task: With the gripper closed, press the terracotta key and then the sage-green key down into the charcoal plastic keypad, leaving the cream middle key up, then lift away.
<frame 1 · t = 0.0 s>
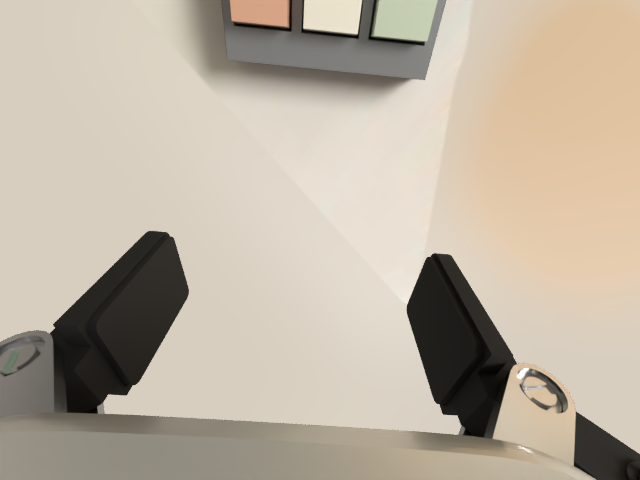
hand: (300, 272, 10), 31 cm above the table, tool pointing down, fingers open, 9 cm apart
keypad: (332, 3, 29), on the table
key sage: (403, 5, 26), point 4 cm above the table, slide at 0.0 cm
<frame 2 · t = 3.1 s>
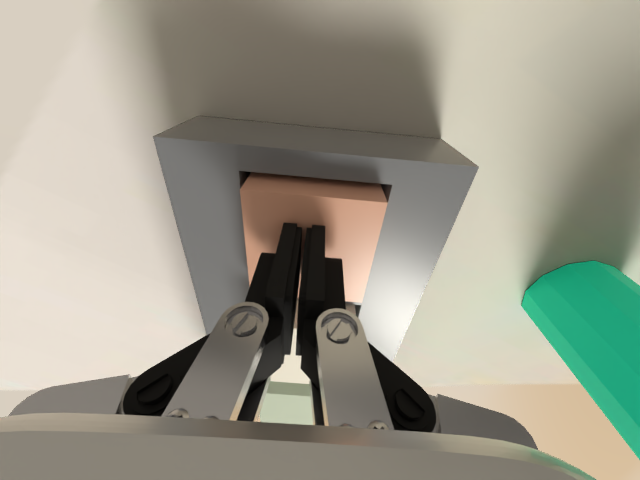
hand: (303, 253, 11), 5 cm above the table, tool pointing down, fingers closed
key cream: (303, 334, 16), point 4 cm above the table, slide at 0.0 cm
keypad: (308, 286, 19), on the table
key sage: (299, 390, 20), point 4 cm above the table, slide at 0.0 cm
key terracotta: (311, 233, 12), point 3 cm above the table, slide at 0.6 cm, touching gripper
candle: (565, 290, 19), on the table
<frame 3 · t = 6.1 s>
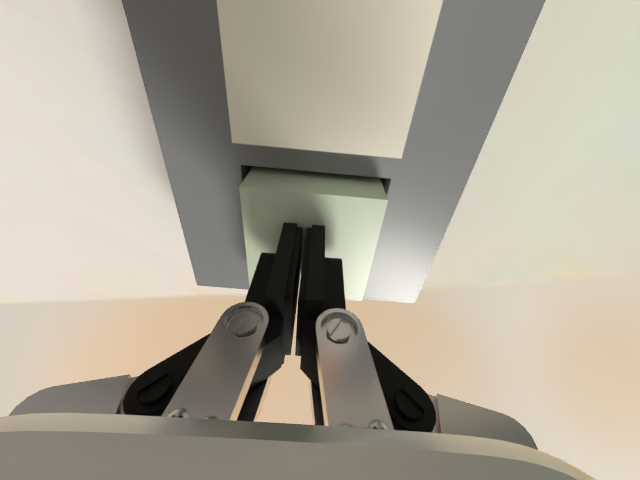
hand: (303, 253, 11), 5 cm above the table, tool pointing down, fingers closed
key cream: (326, 46, 8), point 4 cm above the table, slide at 0.0 cm
keypad: (327, 48, 11), on the table
key sage: (311, 231, 12), point 4 cm above the table, slide at 0.3 cm, touching gripper
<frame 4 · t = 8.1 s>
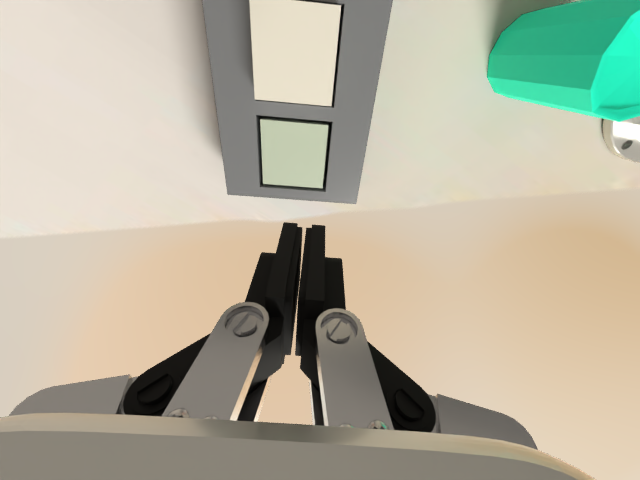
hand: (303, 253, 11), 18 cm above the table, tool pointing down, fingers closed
key cream: (296, 56, 18), point 4 cm above the table, slide at 0.0 cm
keypad: (299, 56, 22), on the table
key sage: (295, 150, 24), point 2 cm above the table, slide at 1.7 cm
candle: (523, 56, 22), on the table
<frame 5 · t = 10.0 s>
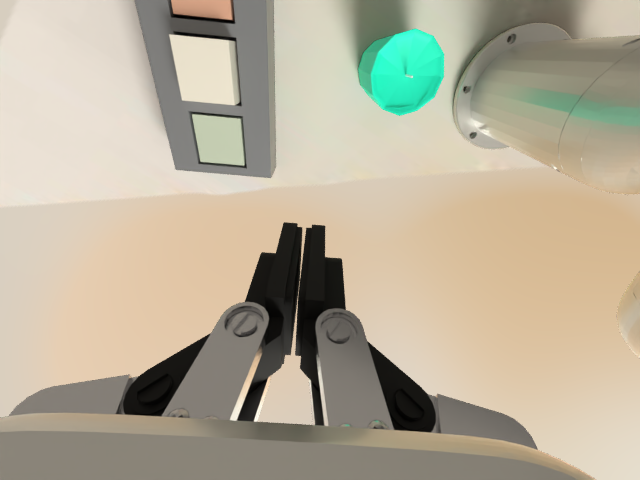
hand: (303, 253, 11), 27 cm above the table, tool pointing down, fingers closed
key cream: (209, 71, 27), point 4 cm above the table, slide at 0.0 cm
keypad: (222, 69, 30), on the table
key sage: (223, 137, 32), point 2 cm above the table, slide at 1.7 cm
candle: (383, 69, 30), on the table
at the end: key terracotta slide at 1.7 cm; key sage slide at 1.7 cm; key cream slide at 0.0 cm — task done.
